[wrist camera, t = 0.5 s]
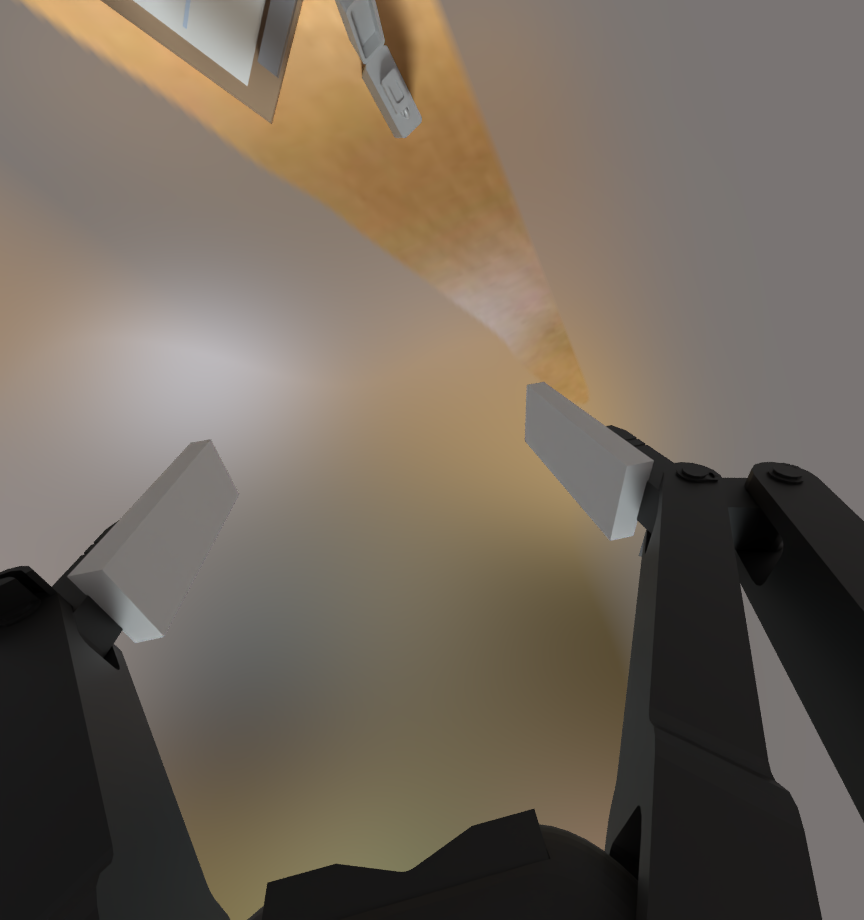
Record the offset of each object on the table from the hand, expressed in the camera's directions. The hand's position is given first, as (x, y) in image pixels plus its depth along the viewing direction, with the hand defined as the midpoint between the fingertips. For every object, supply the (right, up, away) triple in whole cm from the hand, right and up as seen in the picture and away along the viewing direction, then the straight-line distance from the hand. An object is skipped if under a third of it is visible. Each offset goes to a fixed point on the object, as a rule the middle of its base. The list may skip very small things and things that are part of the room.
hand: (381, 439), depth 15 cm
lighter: (-2, +27, +10) cm, 29 cm away
